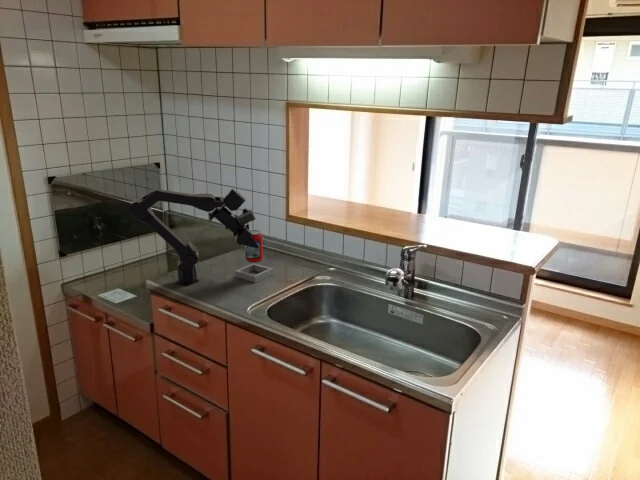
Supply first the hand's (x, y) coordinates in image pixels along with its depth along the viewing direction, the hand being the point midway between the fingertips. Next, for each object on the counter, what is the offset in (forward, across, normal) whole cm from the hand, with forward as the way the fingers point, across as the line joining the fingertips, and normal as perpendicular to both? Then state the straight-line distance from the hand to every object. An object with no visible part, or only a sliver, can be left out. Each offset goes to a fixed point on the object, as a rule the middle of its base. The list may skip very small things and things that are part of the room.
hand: (257, 244), depth 197 cm
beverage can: (+4, 0, +6) cm, 7 cm away
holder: (+8, +1, +10) cm, 14 cm away
